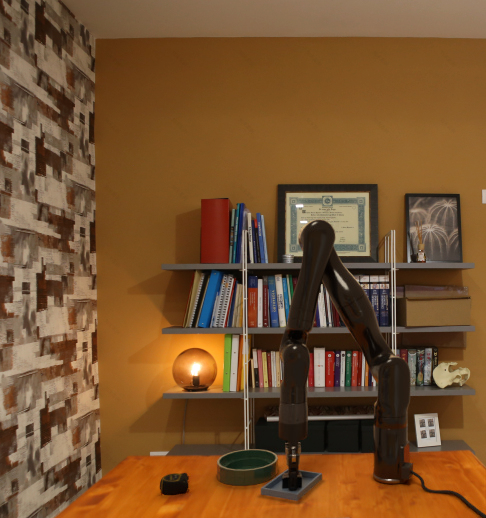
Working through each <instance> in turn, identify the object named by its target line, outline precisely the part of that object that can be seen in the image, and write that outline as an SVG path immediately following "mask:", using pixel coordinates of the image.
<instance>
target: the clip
mask: <svg viewBox="0 0 486 518" xmlns="http://www.w3.org/2000/svg"><path fill="white" fill-rule="evenodd" d="M288 480H289V476H288V473H284V474H283V475H282V489H287V488H288ZM297 488H302V474H301V473H300V472H299V474H298V475H297Z"/></svg>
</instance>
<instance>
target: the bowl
mask: <svg viewBox="0 0 486 518" xmlns="http://www.w3.org/2000/svg"><path fill="white" fill-rule="evenodd" d="M278 473H279V457H278V455H277V453H274V452H273V451H271V450H267V449H258V448H257V449H256V448H255V449H254V448H253V449H251V448H249V449H241V450H235V451H231V452H228V453H225V454H223V455H222V456H219V458H218V459H217V461H216V480H218V481H219V483H222V484H225V485H227V486H228V485H229V486H237V487H244V486H245V487H246V486H254V485H259V484H263V483H266V482H268V481H269V482H270V481H271V480H273V479H274V478H276V477H277V476H278Z"/></svg>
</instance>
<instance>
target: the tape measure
mask: <svg viewBox="0 0 486 518" xmlns="http://www.w3.org/2000/svg"><path fill="white" fill-rule="evenodd" d="M189 477H190V476H189V475H188V473H187V472H181V473H176V472H175V473H169V474H166V475H164V476H163V477H161V479H160V481H159V490H160V492H161V494H163V495H166V496H174V495H178V494H183V493H187V492H188V490H189Z"/></svg>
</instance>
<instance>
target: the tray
mask: <svg viewBox="0 0 486 518" xmlns="http://www.w3.org/2000/svg"><path fill="white" fill-rule="evenodd" d="M298 472H300V473H301V474H302V488H297V490H293V491H290V490H289V489H288V488H287V489H282V475H283V474H284V473H288V468H287V469H285V470H284V471H282V472H281V473H279V474H277V475H276V476H275V477H274V478H272V479H271V480H269V482H267V483H266V484H264V485H263V486H262V487H260V495H262V496H267V497H272V498H278V499H285V500H289V501H296V502H298V501H299V500H300V499H302V498H303V497H304V496H306V494H308V492H310V491H311V490H312V489H313V488H314V487H315V486H316V485H318V484H319V483H320V482H321V481H322V480H323V473H322V472H316V471H309V470H303V469H298Z"/></svg>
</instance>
